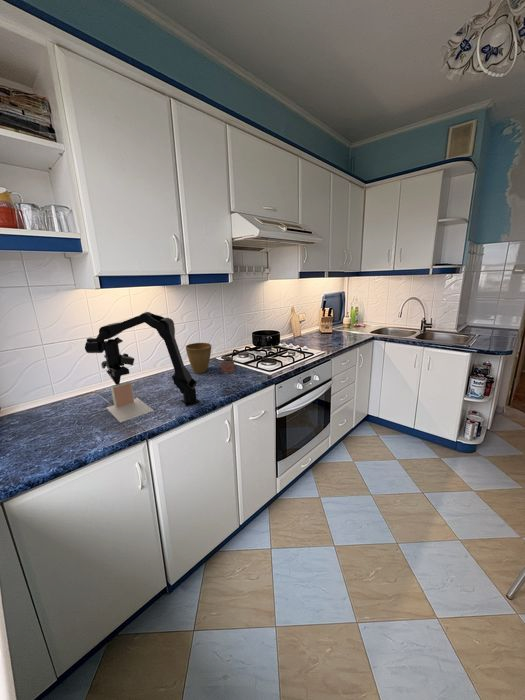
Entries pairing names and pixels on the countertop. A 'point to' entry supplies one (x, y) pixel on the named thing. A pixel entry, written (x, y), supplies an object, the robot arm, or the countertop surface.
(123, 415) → the beige board
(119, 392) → the tile
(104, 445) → the countertop surface
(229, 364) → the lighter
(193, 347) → the plant pot
